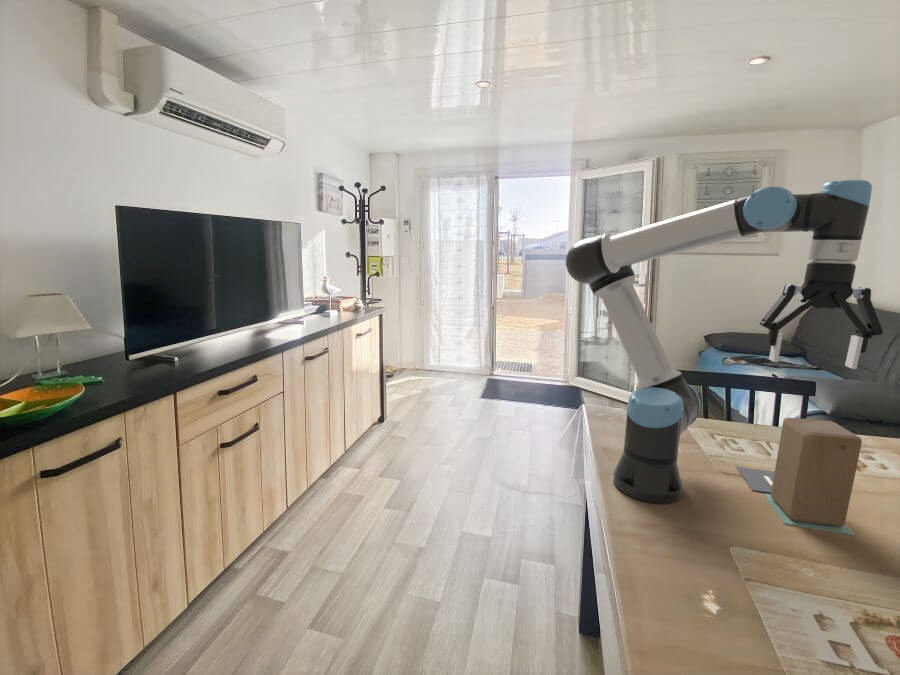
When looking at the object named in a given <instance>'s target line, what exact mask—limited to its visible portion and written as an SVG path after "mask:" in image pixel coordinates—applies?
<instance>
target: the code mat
mask: <svg viewBox="0 0 900 675" xmlns="http://www.w3.org/2000/svg"><path fill="white" fill-rule="evenodd" d="M736 469H737V471H738V472H739V474H740V473H741V474H740V475H741V477H742V478H743V480H744V479H745V480H744V481H745V482H747V483H746V484H747V486H748V485H749V486H748V487H749V489H750V490H751V491H752V492H759V493H764V492H766V493H765V494H770V493H771V491H772V485H773V479H774V473H775V471H774V470H773V471H772V470H764V469H759V468H758V469H757V468H750V467H743V466H736Z"/></svg>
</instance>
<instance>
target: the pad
mask: <svg viewBox="0 0 900 675" xmlns="http://www.w3.org/2000/svg"><path fill="white" fill-rule="evenodd" d="M762 493H763V494H764V495H763V494H762V495H763V496H764V497H766V498H767V499H766V498H765V499H766V501H769V502H768V503H769V504H771V505H770V506H771V508H772V509H773V508H774V509H773V510H774V512H775V511H776V512H775V513H776V515H777V514H778V515H777V516H778V517H779V519H780V520H781V521H782V523H783V525H788V526H793V527H800V528H805V529H812V530H817V531H818V530H819V531H825V532H831V533H836V534H841V535H843V534H844V535H849V536H855V533H854V532H853V531H852V530H851V529H850V528H849V527H848V525H846V523H845V524H844V525H843V526H832V525H824V524H816V523H808V522H800V521H794V520H792V519H790V518H789V516H788V515H787V514H786V513H785V512H784V511H783V510H782V509H781V508H780V507H779V505H778V504H777V503H776V502H775V501H774V500H773V499H772V497H771V494H770V493H764V492H762Z"/></svg>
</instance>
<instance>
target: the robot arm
mask: <svg viewBox="0 0 900 675" xmlns="http://www.w3.org/2000/svg"><path fill="white" fill-rule="evenodd" d="M872 189H873V185H872V184H871V182H870V181H867V180H863V179H848V180H845V179H844V180H843V179H842V180H835V181H829V182H825V183H824V184H822V187H821V189H820V191H819V192H815V193H803V194H802V193H801V194H799V193H798V194H796V193H795V194H794V193H792V192H791V191H790V190H788V189H786V187H782V186H765V187H762V188H760V189H758V190H755V191H754V192H752V194H749V195H745V196H742V197H738V198H737V199H733V200H732V199H731V200H729V201H725V202H722V203H719V204H715V205H712V206H709V207H705V208H702V209H698V210H696V211H692V212H688V213H685V214H683V215H679V216H675V217H672V218H669V219H665V220H663V221H659V222H655V223H652V224H649V225H646V226H643V227H638V228H636V229H632V230H629V231H626V232H622V233H618V234H616V235H613V234H610V233H604V234H601V235H598V236H593V237H589V238H583V239H581V240H578V241H576V242H575V243H574V244H573V245H571V247H570V248H569V250H568V251H567V254H566V258H565V267H566V271H567V273H568V275H570V277H571V278H572V279H573V280H575V281H576V282H578V283H581V284H584V285H585V284H587V285H588V286H589V288H590V290H591V292H592V294H593V296H594V297H597V298H599V299H601V300H602V302H603V305H604V307H605V309H606V312H607V313H608V316H609V317H610V320H611V322H612V324H613V326H614V328H615V331H616V333H617V335H618V338H619V339H620V342H621V345H622V346H623V348H624V350H625V353H626V355H627V357H628V359H629V361H630V363H631V366H632V367H633V370H634V372H635V374H636V377H637V379H638V382H637V384H636V386H635V390H634V391H633V392H632V393H630V395H629V396H628V397H629V398H628V402H627V405H626V422H625V432H624V443H623V451H622V454H621V456H620V459H619V460H618V463H617V464H616V467H615V468H614V471H613V480H612V481H613V485H614V486H615V487H616V488H617V489H618V490H619V491H620V492H622V493H623V494H625V495H627V496H629V497H631V498H633V499H636V500H639V501H642V502H645V503H652V504H670V503H674V502H676V501H678V500H680V498H682V491H683V483H682V478H681V474H680V469H679V465H678V455H679V454H678V453H679V447H680V438H681V435H682V434H683V432H685V431H686V429H688V427H690V426H691V425H692V424H693V423H694V422H695V421H696V420H697V418H698V416H699V413H700V409H701V399H700V397H699V394H698V392H697V391H696V390H695V388H694V387H693V386H692V385H691V384H688V383H687V381H686V380H685V378H684V376H683V373H682V372H681V371H679V370H676V369H674V368H673V367H672V365H671V363H670V361H669V359H668V357H667V354H666V353H665V351H664V348H663V346H662V344H661V342H660V340H659V338H658V335H657V333H656V331H655V329H654V327H653V325H652V323H651V321H650V318H649V316H648V314H647V312H646V310H645V307H644V306H643V304H642V301H641V300H640V297H639V296H638V293H637V291H636V289H635V287H634V283H635V280H636V279H637V277H636V274H635V272H634V270H633V268H632V265H635V264H638V263H643V262H646V261H650V260H655V259H659V258H663V257H667V256H672V255H675V254H678V253H682V252H687V251H691V250H694V249H698V248H701V247H705V246H711V245H713V244H718V243H722V242H727V241H729V240H733V239H734V240H735V239H739V238H741V237H746V236H751V235H755V234H758V233H767V232H769V233H771V232H772V233H779V232H780V233H787V232H793V233H794V232H813V233H812V234H813V235H812V238H811V245H810V249H809V254H808V257H807V258H808V260H811V262H808V263H807V264H806V270H805V275H804V280H803V282H804V283H803V284H802V286H799V285H794V284H791V283H788V284H787V283H786V284H785V285H784V287H783V290H782V293H781V295H780V296H779V297H778V299H777V300H776V301H775V302H774V303H773V305H772V306H771V308H770V309H769V310H768V311H767V313H766V314H765V315H764V316H763V318H762V319H761V320H760V321H759V325H760V326H762V327H764V328H766V329H768V334H767V340H766V343H767V345H768V346H770V350H769V351H770V352H769V358H768V359H769V360H770V361H771V362H773V363H779V358H780V354H781V352H780V351H781V347H782V342H783V335H784V332H783V331H781V330H782V329H783V328H784V327H785V326H787V324H789V323H790V322H791V321H793V320H794V319H795V318H797V317H798V316H799V315H800V314H802V313H803V312H804V311H806V310H808V309H810V308H814V309H816V308H817V309H824V308H826V309H830V310H834V309H836V310H837V311H838V312H839V313H840V314H841V315H842V317H843V318H844V319H845V320H846V322H847V323H848V324H849V326H850V327H851V328H852V330H853V331H854V332H855V333H856V335H854V334H853V335H851V336H850V341H849V345H848V350H847V355H846V359H845V364H844V366H845V367H847V368H849V369H852V370H857V367H858V364H859V359H860V355H861V354H864V353H865V352H866V351H867V347H868V342H869V339H872V338H873V337H874V336H881V335H883V332H884V331H883V328H882V325H881V323H880V320H879V318H878V316H877V313H876V311H875V308H874V305H873V303H872V300H871V298H872V289H871V288H869V287H863V286H860V287H858V288H853V286H852V284H853V281H854V277H855V273H856V268H857V266H856V264H855V263H853V262H855V261H857V260H858V258H859V254H860V250H861V245H862V239H863V235H864V230H865V226H866V222H867V218H868V213H869V208H870V203H871V197H872ZM798 293H799V294H800V295H801V296H802V298H800V299H799V300H798V301H797V302H795V304H794V305H792V307H790V308H789V309H788V310H786V311H785V312H784V313H783V314H781V313H782V311H783V310H784V309H785V308H786V307H787V305H788V304H789V303H790V301H791V300H792V299H793V297H795V296H797V295H798ZM852 296H853V298H854V299H856V302H857V305H858V308H859V311H860V313H861V315H862V318H863V320H864V323H865V324H864V323H863V321H862V320H861V319H860V318H859V316H858V315H857V314H856V313H855V312H854V310H853V309H852V306H851V305H850V304H849V303H848V301H847V300H848V299H849V298H850V297H852ZM780 314H781V316H779V315H780Z"/></svg>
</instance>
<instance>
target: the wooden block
mask: <svg viewBox="0 0 900 675" xmlns="http://www.w3.org/2000/svg"><path fill="white" fill-rule="evenodd" d="M862 444H863V442H862V438H861V437H860V436H858V435H856V434H854V433H853V432H851V431H850V430H848V429H847V428H845V427H843V426H841V425H839V424H838V423H836V422H834V421H832V420H826V419H825V420H823V419H811V418H798V417H784V419H783V421H782V427H781V433H780V439H779V444H778V450H777V456H776V462H775V468H774V472H775V473H774V479H773V485H772V491H771V497H772V499H773V500H774V501H775V502H776V503H777V504H778V505H779V507H780V508H781V509H782V510H783V511H784V512H785V513H786V514H787V515H788V516H789V518H790V519H792V520H794V521H800V522H808V523H816V524H824V525H832V526H843V525H844V524H845V525H846V519H847V515H848V510H849V505H850V500H851V496H852V491H853V487H854V481H855V478H856V477H855V476H856V473H857V467H858V462H859V457H860V453H861V449H862Z"/></svg>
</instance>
